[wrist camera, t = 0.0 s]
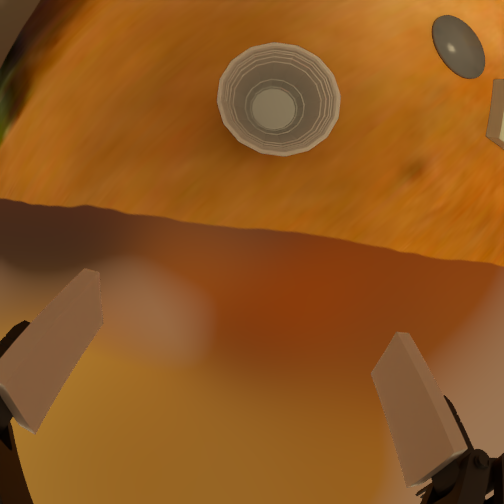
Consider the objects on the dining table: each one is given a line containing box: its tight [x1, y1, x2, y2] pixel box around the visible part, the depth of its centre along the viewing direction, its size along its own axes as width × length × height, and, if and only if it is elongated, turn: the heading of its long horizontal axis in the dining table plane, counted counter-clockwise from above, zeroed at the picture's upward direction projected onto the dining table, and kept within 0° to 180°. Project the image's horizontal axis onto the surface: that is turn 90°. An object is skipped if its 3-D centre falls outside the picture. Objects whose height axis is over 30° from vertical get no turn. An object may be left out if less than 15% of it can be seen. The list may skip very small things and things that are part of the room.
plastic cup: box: [217, 42, 341, 156], centre depth 27 cm, size 11×11×12 cm
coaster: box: [432, 15, 485, 79], centre depth 26 cm, size 11×11×1 cm
